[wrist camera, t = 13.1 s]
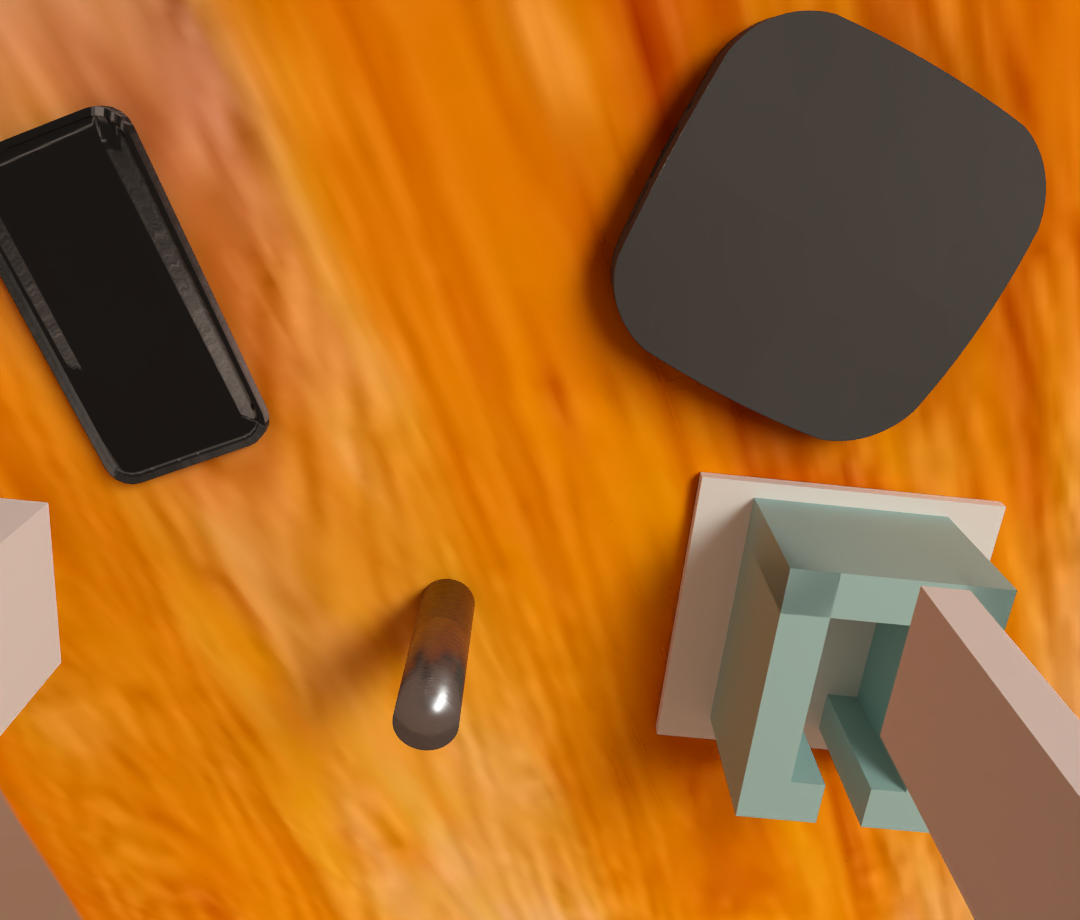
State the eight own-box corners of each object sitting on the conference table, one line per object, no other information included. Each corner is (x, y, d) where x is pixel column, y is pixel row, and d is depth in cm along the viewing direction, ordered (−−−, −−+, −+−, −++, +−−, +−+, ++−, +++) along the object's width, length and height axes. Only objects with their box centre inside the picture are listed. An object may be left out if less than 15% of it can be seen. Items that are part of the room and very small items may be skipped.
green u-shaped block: (754, 497, 45) (790, 568, 38) (948, 516, 45) (1016, 590, 38) (710, 717, 49) (735, 815, 42) (887, 734, 49) (940, 833, 43)
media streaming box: (1059, 155, 40) (1098, 160, 38) (859, 452, 45) (880, 477, 42) (754, -26, 38) (771, -34, 35) (577, 308, 43) (579, 324, 40)
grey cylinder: (422, 576, 47) (394, 691, 38) (476, 581, 47) (461, 697, 38) (419, 623, 48) (390, 747, 39) (472, 628, 48) (456, 753, 39)
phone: (112, 97, 39) (273, 437, 44) (123, 97, 40) (279, 429, 45) (-63, 166, 40) (114, 491, 45) (-47, 164, 41) (124, 482, 46)
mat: (700, 471, 45) (702, 476, 44) (1000, 501, 45) (1006, 506, 45) (655, 726, 50) (656, 734, 49) (926, 751, 50) (930, 758, 50)
